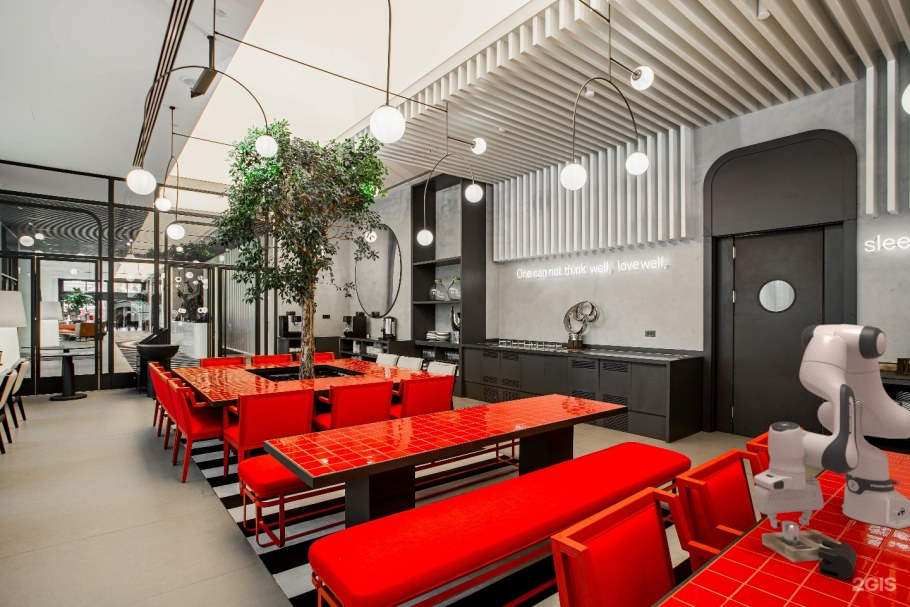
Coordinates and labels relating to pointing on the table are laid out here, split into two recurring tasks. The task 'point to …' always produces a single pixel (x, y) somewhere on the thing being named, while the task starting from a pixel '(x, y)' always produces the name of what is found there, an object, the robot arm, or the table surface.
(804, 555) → the beige rectangular frame
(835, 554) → the end cap
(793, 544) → the metal pin
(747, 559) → the table surface
